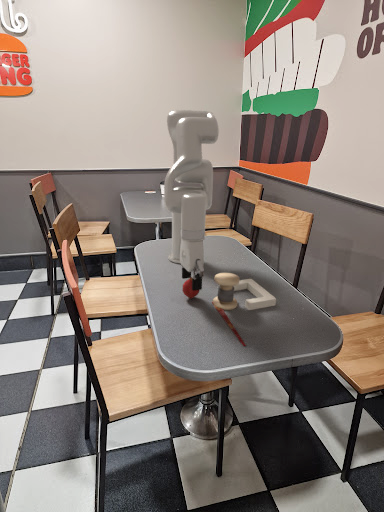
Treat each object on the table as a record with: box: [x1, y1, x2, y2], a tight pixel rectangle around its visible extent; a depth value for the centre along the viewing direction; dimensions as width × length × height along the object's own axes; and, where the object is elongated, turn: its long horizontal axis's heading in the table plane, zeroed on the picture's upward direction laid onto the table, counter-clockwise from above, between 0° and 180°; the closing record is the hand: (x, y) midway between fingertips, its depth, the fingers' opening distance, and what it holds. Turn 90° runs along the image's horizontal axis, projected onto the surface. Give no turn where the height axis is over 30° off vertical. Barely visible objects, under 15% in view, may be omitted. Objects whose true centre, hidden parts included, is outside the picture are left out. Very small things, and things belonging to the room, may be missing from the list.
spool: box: [212, 272, 241, 311], centre depth 103 cm, size 8×8×10 cm
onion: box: [181, 276, 201, 300], centre depth 106 cm, size 6×6×8 cm
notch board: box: [233, 278, 277, 311], centre depth 110 cm, size 16×10×2 cm, turn 20°
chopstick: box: [211, 301, 247, 348], centre depth 95 cm, size 2×24×1 cm, turn 17°
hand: (191, 283), depth 105 cm, fingers open, 9 cm apart
